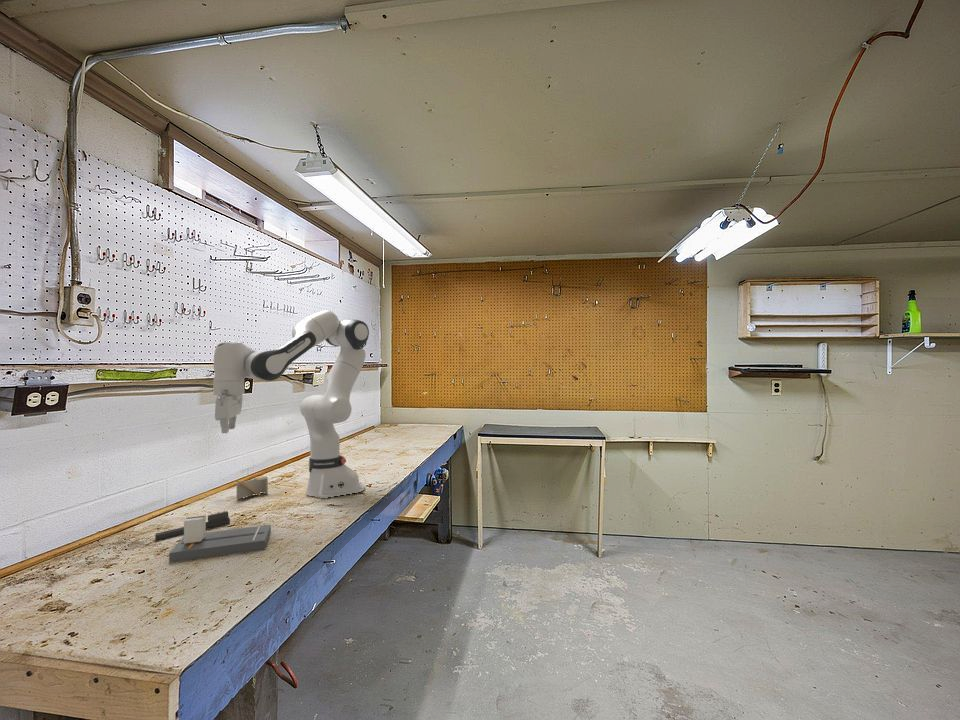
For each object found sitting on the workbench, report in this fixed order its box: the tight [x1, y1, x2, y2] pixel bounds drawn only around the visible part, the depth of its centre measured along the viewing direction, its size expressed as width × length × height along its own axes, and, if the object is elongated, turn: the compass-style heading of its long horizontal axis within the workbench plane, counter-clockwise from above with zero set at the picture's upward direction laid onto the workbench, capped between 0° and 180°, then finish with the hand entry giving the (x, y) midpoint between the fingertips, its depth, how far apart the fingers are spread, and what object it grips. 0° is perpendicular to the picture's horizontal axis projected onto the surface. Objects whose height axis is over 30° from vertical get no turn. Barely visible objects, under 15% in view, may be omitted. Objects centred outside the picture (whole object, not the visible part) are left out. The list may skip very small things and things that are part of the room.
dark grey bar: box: [154, 510, 231, 542], centre depth 126 cm, size 19×3×4 cm, turn 134°
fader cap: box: [183, 513, 207, 543], centre depth 112 cm, size 4×4×6 cm
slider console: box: [168, 524, 272, 563], centre depth 115 cm, size 22×12×3 cm, turn 110°
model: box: [236, 475, 269, 500], centre depth 159 cm, size 3×11×8 cm, turn 154°
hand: (228, 430), depth 136 cm, fingers open, 8 cm apart
